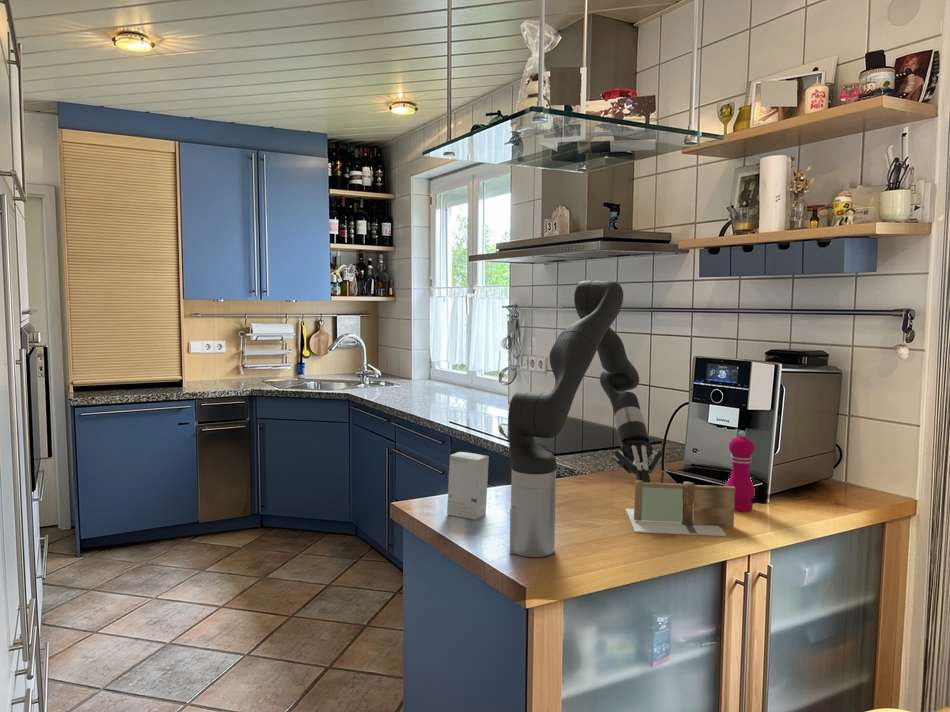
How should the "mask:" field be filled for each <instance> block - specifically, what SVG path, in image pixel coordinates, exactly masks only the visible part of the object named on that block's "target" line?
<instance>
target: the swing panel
mask: <svg viewBox="0 0 950 712" xmlns="http://www.w3.org/2000/svg"><path fill="white" fill-rule="evenodd" d="M633 504H634V507H633V509H634V520H636V521H641V520H646V521H671V522H682V507H683V483H676V482H675V483H674V482H673V483H672V482H671V483H669V482H650V483H648V482H643V481H640V480H637V479H636V480H634V503H633Z"/></svg>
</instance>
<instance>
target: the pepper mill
mask: <svg viewBox="0 0 950 712" xmlns="http://www.w3.org/2000/svg"><path fill="white" fill-rule="evenodd" d="M737 434H738V436H735V437H733V438H732V439H731V440H730V441H729V444H728V449H729V452H730V453H731V454H730V460H729V461H731V462H732V463H731V464H732V469H731V473H730V476H729V477H730V478H729V477H728V478H729V479H728V481H727V483H726V482H725V486H734V487H735V503H734V512H738V513H739V512H740V513H748V512H752V511H753V507H754V506H753V502H752V500H753V499H754V498H755V497H754V496H755V488H754V485H753V483H752V480H751V478H752V477H751V475H750V465H751V464H752V459H753V458H752V454H753V453H754V452H755V445H754V442H753V440H752V439H751V438H748V437H746V435H747V434H746V431H744V430H740V431H738V433H737Z"/></svg>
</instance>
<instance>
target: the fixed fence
mask: <svg viewBox="0 0 950 712" xmlns="http://www.w3.org/2000/svg"><path fill="white" fill-rule="evenodd" d="M682 484H683V498H682V524H685V525H692V524H699V525H719V527H720V528H734V527H735V526H734V523H735V511H734V503H735V487H734V486H726V485H706V484H705V485H702V484H695V483H694V482H692V481H683V482H682Z"/></svg>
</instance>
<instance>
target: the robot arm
mask: <svg viewBox="0 0 950 712" xmlns="http://www.w3.org/2000/svg"><path fill="white" fill-rule="evenodd" d="M573 296H574V298H573V300H574V307H575V311H576V312H577V313H576V314H577V315H578V317H579V319H578V320H577V321H575V322H573V323H572V324H570V325H568V326H567V327H566V328H564V329H563V330H562V331H561V333H560V334H559V335H558V336H557V338H556V340H555V342H554V343H553V346H552V347H551V350H550V352H549V358H548V359H549V365H550V369H551V372H552V373H553V377H554V379H555V386H554V387H553V389H552V390H551V391H550V392H539V391H531V390H529V391H528V390H527V391H525V390H520V391H517V392H516V393H514V394H513V396H512V397H511V399H510V403H509V407H508V416H507V417H508V419H507V420H508V438H509V439H508V442H509V444H508V445H509V448H508V449H509V457H510V462H511V470H510V471H511V473H510V475H511V476H510V477H511V478H510V479H511V481H510V482H511V483H510V484H511V486H510V508H509V509H510V510H509V512H510V513H509V514H510V515H509V554H510V555H511V554H512V555H517V556H522V557H527V558H542V557H548V556H551V555H553V554H554V553H555V544H556V533H555V531H556V483H557V482H556V481H557V458H556V456H555V454H553V453H551V452H550V451H548V450H546V449H545V448H543V447H542V446H540V445H539V444H538V443H537V442H536V440H535V438H541V439H552V438H556V437H557V436H558V435H559V434H560V433H561V431H562V429H563V428H564V426H565V424H566V420H567V418H568V416H569V413H570V410H571V407H572V404H573V402H574V398H575V396H576V393H577V391H578V389H579V387H580V384H581V382H582V380H583V379H584V378H585V377H584V376H585V374H586V373H587V371H588V369H589V367H590V366H591V363H592V361H593V359H594V357H595V355H596V353H597V354H598V358H599V360H600V364H601V366H602V369H604V370H603V371H602V372H601V374H600V377H599V383H600V385H601V388H602V389H603V392H604V393H605V394H606V396H607V398H608V399H609V401H610V403H611V406H612V412H613V416H614V424H615V431H616V434H617V436H618V442H619V445H620V447H619V450H618V451H615V452H614V455H613V459H612V460H613V461H615V462H616V464H617V465H619V466H620V467H622V468H623V470H624V471H626V472H627V473H628V474H634V475H635V478H636V480H640V481H643V482H648V483H651V478H650V474H652V473H653V472H654V470H655V469H656V467H657V465H658V463H659V462H660V460H661V459H662V456H663V455H664V453H663V451H661V450H659V451H657V450H655V449H654V447H653V445H652V444H651V443H650V437H649V433H648V429H647V425H646V422H645V417H644V415H643V412H642V410H641V406H640V403H639V402H640V401H639V398H638V397H637V395H636V394H635V393H634V392H632V390H634V389H636V388H637V387H638V386H639V383H640V376H639V373H638V371H637V369H636V368H635V366H634V364H632V363H631V362H630V360H629V359H628V356H627V353H626V349H625V346H624V342H623V341H622V338H621V337H620V336H619V335H618V333H616V331H614V330H613V329H612V327H611V326H612V325H613V323H614V321H615V320H616V318H617V317H618V315H619V313H620V311H621V309H622V306H623V301H624V290H623V287H622V286H621V285H620V284H619V282H617V281H613V280H583V281H582V280H581V281H579V282H578V284H577V286H576V288H575V290H574V295H573ZM630 390H631V391H630ZM650 457H651V459H652V461H651V463H650V464H649V463H648V460H649V459H650Z"/></svg>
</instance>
